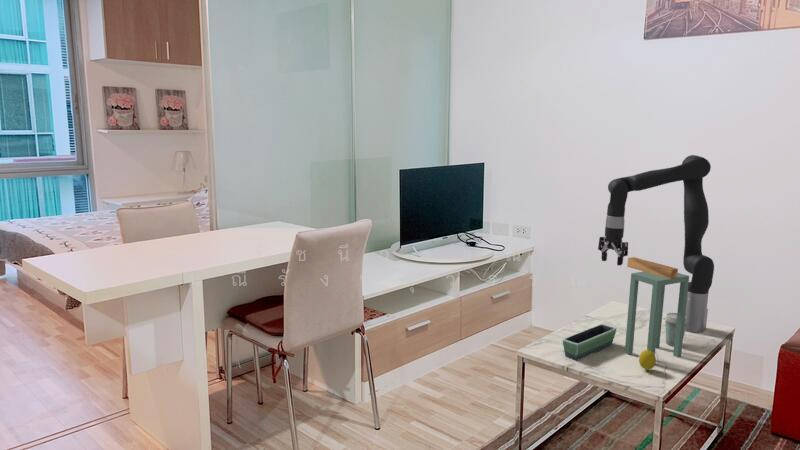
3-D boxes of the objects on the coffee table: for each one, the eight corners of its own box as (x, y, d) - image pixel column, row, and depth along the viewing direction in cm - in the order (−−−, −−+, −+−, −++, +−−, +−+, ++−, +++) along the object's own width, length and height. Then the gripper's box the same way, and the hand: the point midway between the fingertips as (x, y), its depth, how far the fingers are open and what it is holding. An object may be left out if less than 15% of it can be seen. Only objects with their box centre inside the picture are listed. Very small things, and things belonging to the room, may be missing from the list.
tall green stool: (655, 345, 235) (662, 268, 229) (681, 356, 224) (689, 275, 219) (624, 352, 227) (631, 273, 222) (650, 364, 217) (657, 281, 211)
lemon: (635, 367, 214) (637, 346, 213) (649, 366, 215) (651, 346, 213) (642, 373, 209) (644, 352, 207) (657, 373, 209) (659, 352, 208)
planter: (576, 362, 218) (578, 344, 217) (560, 356, 224) (561, 338, 222) (616, 345, 236) (617, 328, 234) (600, 340, 241) (601, 323, 240)
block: (633, 265, 233) (634, 257, 233) (677, 277, 216) (677, 268, 215) (627, 266, 232) (628, 258, 231) (670, 279, 214) (671, 269, 213)
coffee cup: (665, 347, 233) (668, 318, 231) (659, 339, 242) (662, 311, 240) (688, 348, 232) (691, 319, 230) (681, 340, 240) (684, 312, 238)
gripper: (634, 228, 245) (631, 265, 248) (608, 222, 258) (605, 258, 261) (621, 229, 242) (618, 267, 245) (595, 224, 254) (592, 260, 257)
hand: (611, 263), depth 253 cm, fingers open, 8 cm apart
